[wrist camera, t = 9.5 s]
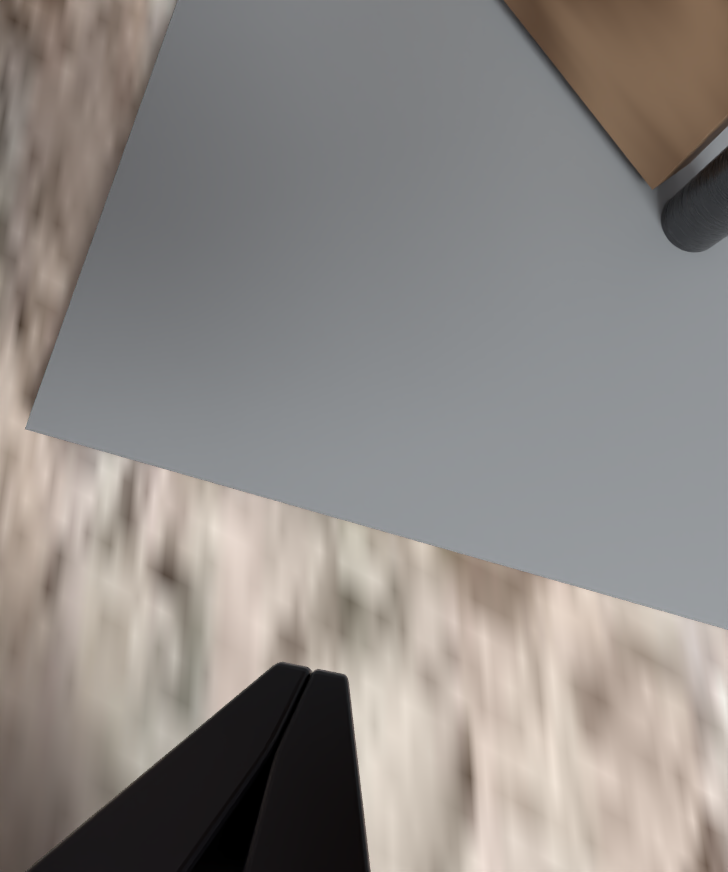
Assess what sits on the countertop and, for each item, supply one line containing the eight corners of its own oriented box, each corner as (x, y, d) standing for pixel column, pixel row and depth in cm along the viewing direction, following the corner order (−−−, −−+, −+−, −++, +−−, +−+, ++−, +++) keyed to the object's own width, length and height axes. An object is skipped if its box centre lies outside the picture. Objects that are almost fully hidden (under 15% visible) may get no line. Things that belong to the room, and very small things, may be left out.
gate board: (39, 433, 20) (24, 429, 19) (219, -74, 22) (214, -102, 21) (854, 665, 20) (881, 673, 19) (945, 144, 23) (974, 127, 22)
